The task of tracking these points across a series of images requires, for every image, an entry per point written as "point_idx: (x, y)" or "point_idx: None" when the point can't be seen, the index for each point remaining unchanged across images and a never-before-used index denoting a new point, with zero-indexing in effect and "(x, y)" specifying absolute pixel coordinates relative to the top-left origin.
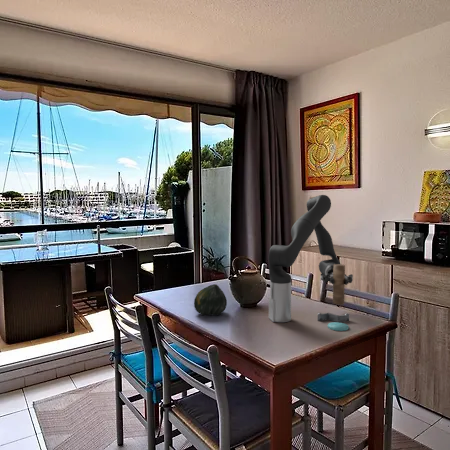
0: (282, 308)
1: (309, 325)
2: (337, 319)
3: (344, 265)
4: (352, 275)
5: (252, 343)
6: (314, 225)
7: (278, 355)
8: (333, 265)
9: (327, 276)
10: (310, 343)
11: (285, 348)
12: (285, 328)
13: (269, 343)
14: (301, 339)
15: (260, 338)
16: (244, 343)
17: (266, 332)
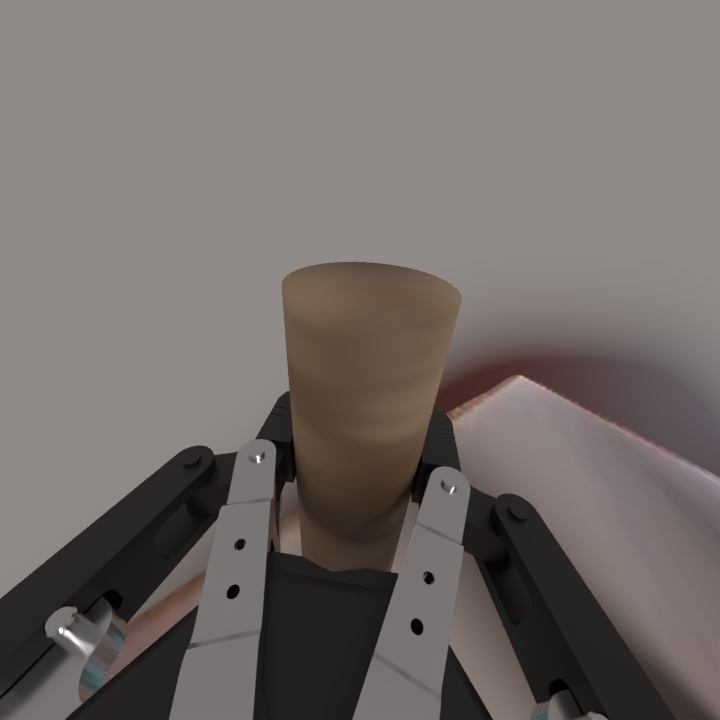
0: None
1: (505, 683)
2: None
3: (300, 272)
4: (39, 568)
5: (633, 459)
6: None
7: (528, 401)
8: (458, 300)
9: (500, 501)
10: (467, 452)
11: (527, 428)
12: (616, 617)
13: (585, 457)
14: (501, 481)
15: (639, 494)
16: (655, 460)
17: (664, 556)
